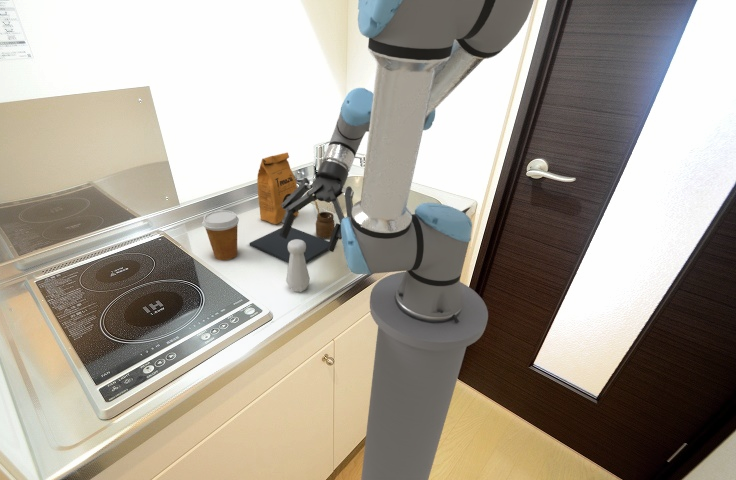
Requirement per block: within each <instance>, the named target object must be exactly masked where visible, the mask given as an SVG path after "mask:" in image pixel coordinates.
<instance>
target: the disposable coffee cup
mask: <svg viewBox="0 0 736 480" xmlns="http://www.w3.org/2000/svg"><path fill="white" fill-rule="evenodd" d="M239 219H240V218H239V217H238V215H237V213H236V212H235V211H232V210H227V209H226V210H225V209H223V210H222V209H221V210H220V209H219V210H214V211H211V212H207V213H206V214H204V216H203V220H202V222H201V223H202V226H203V227H204V228H205V231H206V234H207V238H208V240H209V243H210V246H211V250H212V253H213V256H214V258H215V259H216V260H218V261H229V260H232V259H235V258H236V257H237V256H238V225H239V221H240V220H239Z"/></svg>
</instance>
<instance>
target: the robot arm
mask: <svg viewBox="0 0 736 480" xmlns="http://www.w3.org/2000/svg"><path fill="white" fill-rule="evenodd" d="M534 2H535V0H358V4H357V10H358V12H357V13H358V14H357V24H358V30H359V32H360V34H361V35H362V36H364V37H365V38H367V39H368V44H367V51H368V52H369V53H370V55H371V57H372V58H373V59H374V60H375V64H376V68H375V75H374V85H373V92H372V91H371V90H368V89H367V88H364V87H355V88H353V89H351V90H350V91H349V92H348V93H347V95H346V96H345V98H344V99H343V101H342V104H341V107H340V112H339V115H338V118H337V120H336V124H335V127H334V129H333V132H332V135H331V137H330V140H329V143H328V146H327V148H326V150H325V152H324V155H323V156H322V157H323V158H322V162H320V165H319V167H318V170H317V173H316V177H315V179H314V180H313V181H312V180H309V178H308V177H304V178H303V179H302V181H301V183H300V185H298V186H297V189H296V190H295V191H294V192H293V193H292V194H291V195H290V196H289V197H288V198H287V199H286V200H285V201H284V202H283V203H282V204H281V207H282V208H283V209H284V210H285V211H286V213H285V215H284V217H283V220H282V222H281V223H282V227H281V228H282V229H281V232H280V234H279V235H280V236H281V237H283V238H284V239H287V236H288V234H289V231H290V229H291V227H292V226H293V224H294V222H295V219H296V216H295V215H294V213H296V212H297V211H298V212H299V211H300V210H302V209H303V208H305V207H306V206H308V205H309V204H310V203H312V202H315V201H319V202H325V203H329V204H332V205H333V206H332V207H333V209H334V211H335V213H336V216H337V218H338V221H339V223H338V222H336V223H335V228H334V231H333V233H332V236H331V238H329V240H328V241H329V244H328V246H327V248H328V249H329V250H328V251H329V252H331V253H335V249H336V247H337V243H338V241H339V240H341V242H342V248H343V252H344V258H345V261H346V265H347V267H348V270H349V271H350V272H351V273H353V274H354V275H373V274H374V275H375V274H384V273H385V274H386V273H395V272H396V273H398V272H405V274H404V276H403V278H402V279H401V281H400V283H399V285H398V287H397V289H396V294H395V302H396V304H397V306H398V308H399V309H400V310H401V311H402V312H403V313H405V314H406V315H408V316H409V317H411V318H414V319H416V320H419V321H423V322H428V323H444V322H448V321H451V320H453V319H454V321H455V322H456V323H458V322H459V320H458V319H457V317H458V316H459V314H460V312H461V309H462V305H463V298H462V291H461V284H460V282H461V277H462V273H463V269H464V265H465V260H466V257H467V252H468V248H469V244H470V242H471V241H472V231H473V222H472V219H471V218H470V217H469V215H467V214H466V213H465V212H464V211H462V210H460V209H458V208H455V207H453V206H449V205H446V204H442V203H436V202H422V203H420V204H418V205H417V206H416V208H415V209H414V213H413V214H412V212H411V211H410V209H409V208H408V207H407V206H408V201H409V196H410V192H411V187H412V183H413V178H414V173H415V170H416V169H415V168H416V165H417V159H418V155H419V151H420V147H421V146H420V145H421V141H422V137H423V133H424V131H427V130H429V129H431V127H432V126H433V123H434V122H435V118H436V108H438V106H440V104H441V103H442V102H444V101H445V100H446V99H447V97H449V95H450V94H451V93H452V92H453V91H455V89H456V88H457V87H458V86H459V85H460V84H462V82H463V81H464V80H465V79H466V78H467V77H468V76H469V75H470V74H471V73H473V71H474V70H475V69H476V68H477V67H478V66H479V65H480V64H481V63H482V62H483V61H484V60H487V59H491V58H494V57H496V56H498V54H501V52H502V51H503V50H504V49H505V48H507V46H508V45H510V43H511V42H512V41H513V40H514V39H515V38H516V36H517V35H518V34H519V32H520V31H521V30H522V28H523V26H524V25H525V23H526V21H527V20H528V18H529V15H530V13H531V10H532V8H533V5H534ZM367 132H368V135H367V136H368V137H367V144H366V153H365V160H364V170H363V176H362V177H363V179H362V188H361V195H360V200H359V201H357V202H356V203H354V201H353V197H354V195H355V194H354V193H355V191H354V190H353V188H352V187H351V186H350V185H349V186H347V187H345V186H346V185H345V184H346V182H347V180H348V176H349V173H350V171H351V169H352V166H353V163H354V161H355V158H356V155H357V153H358V150H359V148H360V145H361V143H362V141H363V138H364V136H365V134H366V133H367ZM342 194H343V196H344V202H345V208H346V210H345V211H346V217H345V214H344V211H343V209H342V207H341V204H340V201H339V197H340V196H341V195H342ZM330 202H331V203H330ZM353 203H354V204H353Z"/></svg>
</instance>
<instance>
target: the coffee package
mask: <svg viewBox="0 0 736 480" xmlns="http://www.w3.org/2000/svg"><path fill="white" fill-rule="evenodd" d="M289 158H290V155H289V152H283V153H279V154H275V155H270V156H266V157H264V158H262V159H261V162H260V165H259V169H258V170H257V171H258V172H257V179H256V181H257V184H256V185H257V194H258V195H257V198H258V206H259V216H260V220H261V221H264V222H265V221H266V222H268V223H270V224H275V225H278V224H279V223H282V220H283V217H284V215H285V213H286V211H285V210H284V209H283V208H282V207H281V204H282V203H283V202H284V201H285V200H286V199H287V198H288V197H289V196H290V195H291V194H292V193H293V192H294V191H295V190H296V189H297V188H298V185H297V184H298V183H297V180H296V178H295V175H294V173H293V171H292V169H291V165H290V162H289V161H288V159H289ZM294 215H295V217H297V216H298V215H299V211H297V212H296V213H294Z"/></svg>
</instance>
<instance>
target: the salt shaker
mask: <svg viewBox="0 0 736 480" xmlns="http://www.w3.org/2000/svg"><path fill="white" fill-rule="evenodd" d="M305 250H306V243H305V242H304V241H302V240H299V239H295V240H291V241H290V242H289V243H288V251H289V252H290V258H289V263H288V264H287V265H288V266H287V271H286V277H285V282H286V284H287V285H288V286H287V287H289V289H291V291H292V292H294V293H302V292H303V291H305V290H307V288H308V286H309V284H310V280H311V279H310V273H309V270H308V266H307V264H306V261H305V257H304V252H305Z"/></svg>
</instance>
